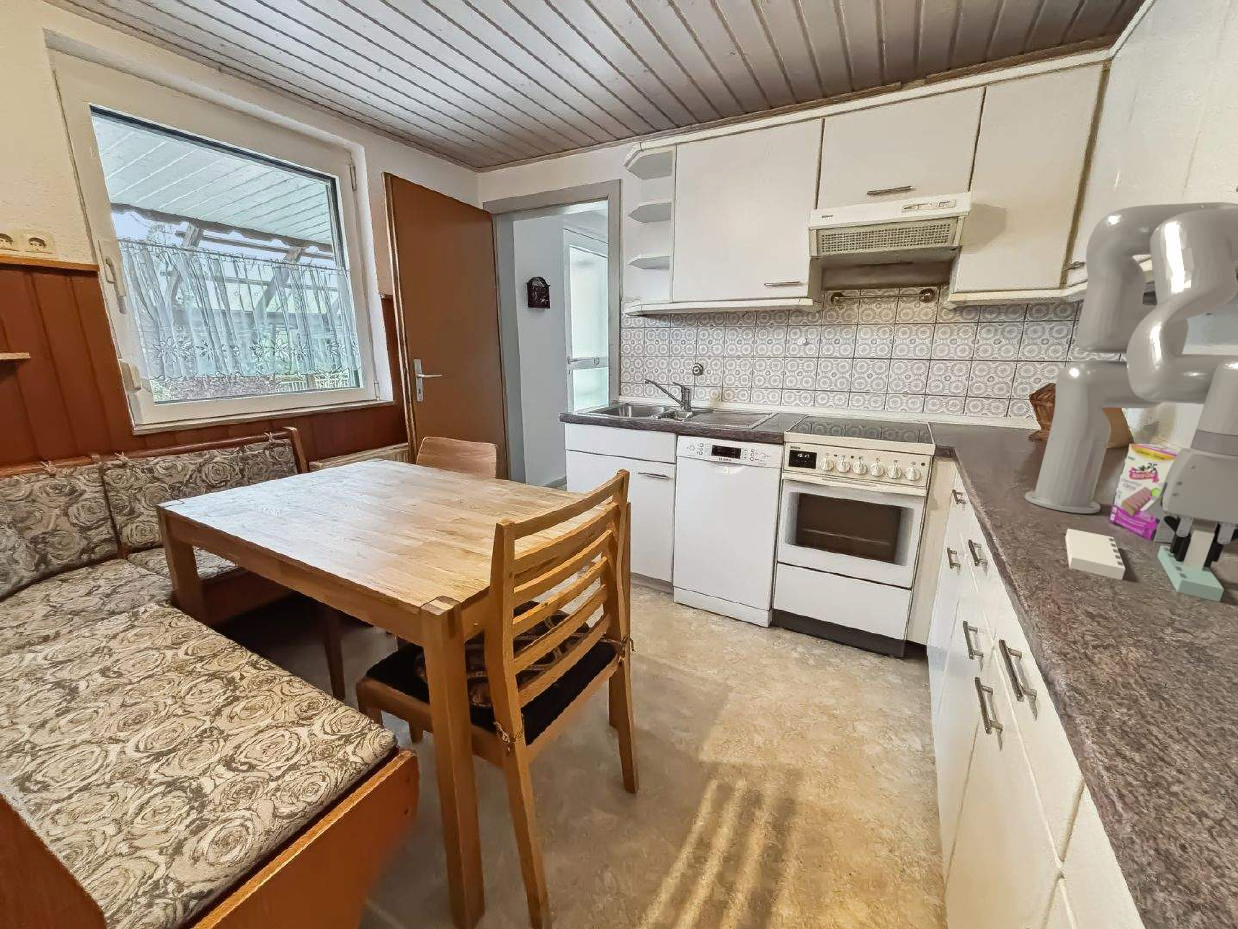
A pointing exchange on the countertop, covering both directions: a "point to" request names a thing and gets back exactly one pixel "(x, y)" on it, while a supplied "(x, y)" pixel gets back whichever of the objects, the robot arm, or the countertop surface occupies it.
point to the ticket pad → (1094, 554)
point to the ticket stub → (1193, 567)
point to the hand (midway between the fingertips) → (1191, 560)
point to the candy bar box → (1143, 491)
